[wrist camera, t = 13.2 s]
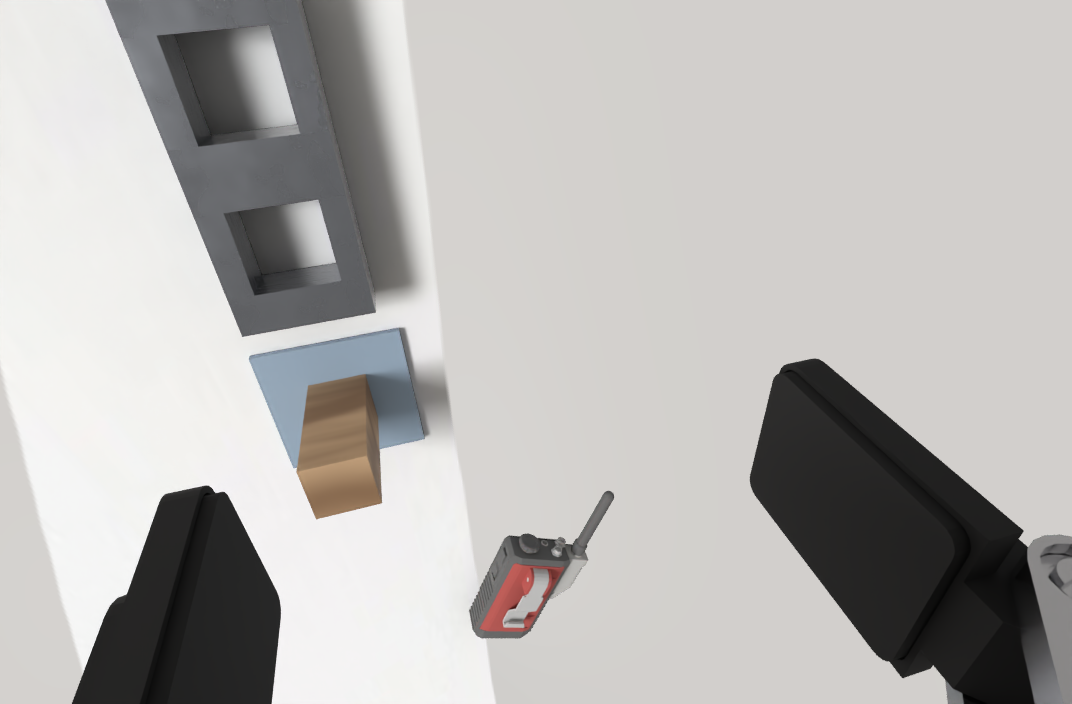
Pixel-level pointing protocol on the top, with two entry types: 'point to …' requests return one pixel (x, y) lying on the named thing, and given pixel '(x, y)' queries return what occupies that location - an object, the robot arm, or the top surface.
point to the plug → (340, 447)
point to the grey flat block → (252, 160)
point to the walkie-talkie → (529, 579)
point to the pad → (338, 359)
